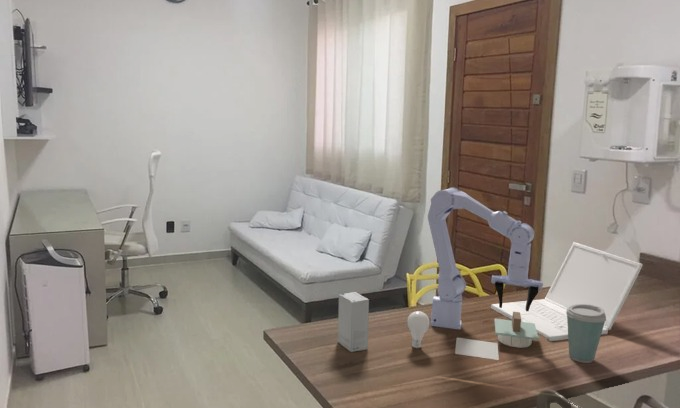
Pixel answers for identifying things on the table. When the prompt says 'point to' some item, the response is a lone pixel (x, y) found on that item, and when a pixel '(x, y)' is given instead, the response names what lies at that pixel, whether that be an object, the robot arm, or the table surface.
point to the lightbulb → (417, 327)
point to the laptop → (579, 291)
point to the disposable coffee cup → (584, 331)
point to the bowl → (514, 341)
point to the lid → (516, 328)
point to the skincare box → (353, 321)
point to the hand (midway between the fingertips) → (513, 308)
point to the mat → (477, 348)
